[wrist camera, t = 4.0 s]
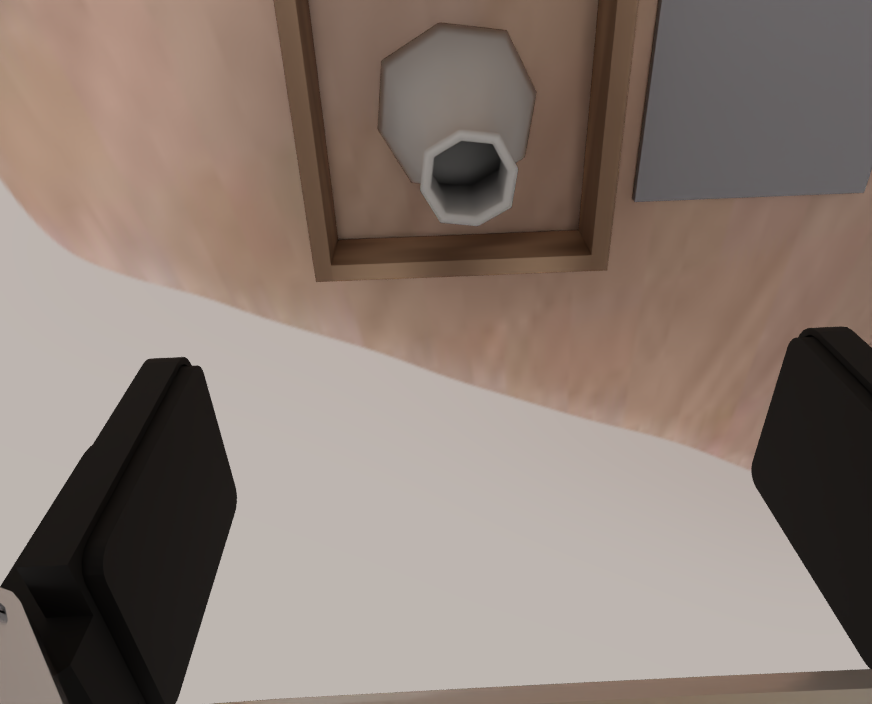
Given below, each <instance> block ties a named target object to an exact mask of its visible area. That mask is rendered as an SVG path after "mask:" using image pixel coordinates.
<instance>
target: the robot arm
mask: <svg viewBox="0 0 872 704" xmlns="http://www.w3.org/2000/svg"><path fill="white" fill-rule="evenodd" d="M752 478H753V481H754V484H755V486H756V488H757V490H758V491H759V493H760V494H761V496H762V498H763V499H764V501H765V502H766V504H767V506H768V507H769V509H770V510H771V512H772V514H773V515H774V517H775V519H776V520H777V522H778V523H779V525H780V527H781V528H782V530H783V531H784V533H785V535H786V536H787V538H788V540H789V541H790V543H791V544H792V546H793V548H794V549H795V551H796V552H797V554H798V556H799V557H800V559H801V560H802V562H803V564H804V565H805V567H806V569H807V570H808V572H809V573H810V575H811V577H812V578H813V580H814V581H815V583H816V584H817V586H818V588H819V590H820V591H821V593H822V594H823V596H824V598H825V599H826V601H827V602H828V604H829V606H830V607H831V609H832V610H833V612H834V614H835V615H836V617H837V619H838V620H839V622H840V623H841V625H842V626H843V628H844V630H845V631H846V633H847V635H848V636H849V638H850V639H851V641H852V643H853V644H854V646H855V648H856V649H857V651H858V652H859V654H860V656H861V657H862V659H863V660H864V662H865V663H866V665H867V666H868V667H869V668H870V669H865V670H842V671H821V672H820V671H819V672H798V673H797V672H796V673H775V674H752V675H729V676H706V677H688V678H687V677H686V678H666V679H647V680H646V679H645V680H625V681H604V682H584V683H567V684H566V683H565V684H546V685H526V686H506V687H486V688H468V689H450V690H449V689H448V690H431V691H414V692H413V691H412V692H395V693H377V694H359V695H340V696H322V697H305V698H286V699H270V700H257V701H244V702H229V703H215V704H872V348H871V347H870V346H869V345H868V344H867V343H866V342H865V341H863V340H862V339H861V338H860V337H859V336H858V335H857V334H856V333H855V332H853V331H852V330H851V329H849V328H848V327H823V328H808V329H805V330H803V332H802V333H801V334H800V335H799V337H798V338H794V339H792V340H791V341H790V343H789V345H788V347H787V351H786V354H785V357H784V360H783V364H782V367H781V370H780V374H779V377H778V380H777V383H776V387H775V390H774V393H773V396H772V400H771V403H770V406H769V410H768V413H767V416H766V419H765V423H764V426H763V429H762V432H761V436H760V439H759V442H758V446H757V449H756V452H755V455H754V459H753V462H752ZM236 504H237V493H236V488H235V484H234V480H233V476H232V473H231V469H230V466H229V462H228V458H227V455H226V451H225V448H224V444H223V440H222V437H221V433H220V430H219V426H218V423H217V419H216V415H215V412H214V408H213V405H212V401H211V398H210V394H209V391H208V387H207V384H206V380H205V376H204V373H203V370H202V369H201V367H200V366H191V363H190V362H189V360H188V359H187V358H185V357H177V358H154V359H148V360H146V361H145V362H144V364H143V365H142V367H141V368H140V370H139V371H138V373H137V375H136V376H135V378H134V379H133V381H132V383H131V384H130V386H129V388H128V389H127V391H126V392H125V394H124V396H123V397H122V399H121V400H120V402H119V404H118V405H117V407H116V408H115V410H114V412H113V413H112V415H111V416H110V418H109V420H108V421H107V423H106V424H105V426H104V428H103V429H102V431H101V432H100V434H99V436H98V437H97V439H96V441H95V442H94V444H93V445H92V446H90V448H89V449H88V450H87V451H86V452H85V453H84V455H83V456H82V458H81V460H80V461H79V463H78V464H77V466H76V467H75V469H74V471H73V472H72V474H71V475H70V477H69V478H68V480H67V482H66V483H65V485H64V486H63V488H62V489H61V491H60V493H59V494H58V496H57V497H56V499H55V501H54V502H53V504H52V505H51V507H50V509H49V510H48V512H47V513H46V515H45V516H44V518H43V520H42V521H41V523H40V525H39V526H38V528H37V529H36V531H35V532H34V534H33V535H32V537H31V539H30V540H29V542H28V543H27V545H26V547H25V548H24V550H23V552H22V553H21V555H20V556H19V558H18V559H17V561H16V562H15V564H14V566H13V567H12V569H11V571H10V572H9V574H8V575H7V577H6V578H5V580H4V581H3V583H2V585H1V586H0V704H175V703H176V701H177V699H178V697H179V694H180V690H181V687H182V683H183V681H184V677H185V674H186V670H187V667H188V664H189V661H190V658H191V654H192V651H193V648H194V644H195V641H196V638H197V635H198V632H199V628H200V625H201V622H202V618H203V615H204V612H205V609H206V605H207V602H208V599H209V595H210V592H211V589H212V586H213V582H214V579H215V576H216V573H217V569H218V566H219V563H220V560H221V556H222V553H223V549H224V547H225V543H226V540H227V537H228V534H229V530H230V527H231V524H232V520H233V517H234V513H235V510H236Z"/></svg>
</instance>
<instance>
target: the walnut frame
mask: <svg viewBox="0 0 872 704" xmlns="http://www.w3.org/2000/svg"><path fill="white" fill-rule="evenodd" d="M638 4H639V0H599V3H598V14H597V26H596V37H595V48H594V60H593V71H592V82H591V94H590V105H589V116H588V128H587V139H586V150H585V162H584V173H583V184H582V196H581V207H580V218H579V230H571V231H546V232H521V233H496V234H471V235H446V236H421V237H397V238H372V239H347V240H338V235H337V227H336V219H335V211H334V203H333V195H332V187H331V179H330V171H329V163H328V155H327V147H326V139H325V131H324V123H323V115H322V107H321V99H320V91H319V83H318V75H317V67H316V59H315V51H314V43H313V35H312V27H311V19H310V11H309V3H308V0H274V6H275V13H276V20H277V26H278V33H279V39H280V46H281V53H282V59H283V66H284V73H285V79H286V86H287V93H288V99H289V106H290V112H291V119H292V126H293V132H294V139H295V146H296V152H297V159H298V165H299V172H300V179H301V185H302V192H303V199H304V205H305V212H306V219H307V225H308V232H309V238H310V245H311V252H312V258H313V265H314V272H315V278H316V282H327V281H352V280H377V279H402V278H427V277H452V276H477V275H502V274H528V273H553V272H578V271H603V270H607V267H608V259H609V250H610V242H611V233H612V225H613V216H614V208H615V199H616V191H617V182H618V174H619V166H620V157H621V149H622V140H623V132H624V123H625V115H626V106H627V98H628V89H629V81H630V72H631V64H632V55H633V47H634V38H635V30H636V21H637V13H638Z"/></svg>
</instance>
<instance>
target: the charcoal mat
mask: <svg viewBox="0 0 872 704" xmlns="http://www.w3.org/2000/svg"><path fill="white" fill-rule="evenodd" d="M871 170H872V0H659V3H658V10H657V18H656V25H655V33H654V40H653V48H652V55H651V63H650V70H649V78H648V86H647V93H646V101H645V108H644V116H643V123H642V131H641V138H640V146H639V154H638V161H637V169H636V176H635V184H634V191H633V200H634V202H645V201H670V200H695V199H720V198H745V197H770V196H794V195H819V194H844V193H864V191H865V188H866V185H867V182H868V179H869V176H870V173H871Z"/></svg>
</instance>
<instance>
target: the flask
mask: <svg viewBox="0 0 872 704" xmlns="http://www.w3.org/2000/svg"><path fill="white" fill-rule="evenodd" d="M536 93H537V92H536V90H535V88H534V86H533V84H532V82H531V80H530V78H529V76H528V73H527V71H526V69H525V67H524V65H523V63H522V61H521V59H520V57H519V55H518V53H517V51H516V49H515V47H514V45H513V42H512V40H511V38H510V36H509V34H508V32H507V30H498V29H490V28H481V27H473V26H464V25H456V24H447V23H438V24H436V25H435V26H433V27H432V28H430V29H429V30H427V31H426V32H424V33H423V34H421V35H420V36H418V37H417V38H415V39H414V40H412V41H411V42H409V43H407V44H406V45H404V46H403V47H401V48H400V49H398V50H397V51H395V52H394V53H392V54H391V55H389V56H388V57H386V58H385V59H383V60H382V61H381V79H380V97H379V114H378V130H379V132H380V133H381V135H382V137H383V138H384V140H385V141H386V143H387V145H388V146H389V148H390V149H391V151H392V152H393V154H394V156H395V157H396V159H397V160H398V162H399V164H400V165H401V167H402V168H403V170H404V172H405V173H406V175H407V176H408V178H409V179H410V181H411V182H413V183H421V186H420V190H421V192H422V194H423V196H424V197H425V199H426V200H427V202H428V204H429V205H430V207H431V208H432V210H433V212H434V213H435V215H436V216H437V218H438V220H439V221H440V223H449V224H460V225H470V226H479V225H481V224H483V223H485V222H486V221H488V220H490V219H492V218H494V217H495V216H497V215H499V214H501V213H502V212H504V211H506V210H508V209H510V208H511V207H512V202H513V196H514V190H515V185H516V179H517V173H518V167H517V165H516V162H518V161H519V160H521V159H523V158H524V157H525V154H526V148H527V143H528V137H529V132H530V126H531V120H532V115H533V109H534V104H535V98H536Z"/></svg>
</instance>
